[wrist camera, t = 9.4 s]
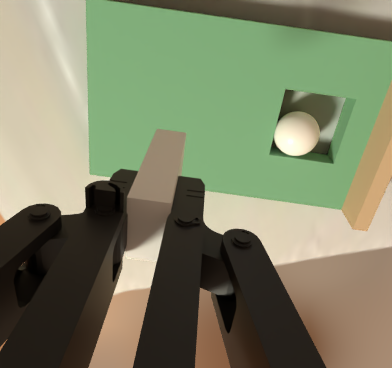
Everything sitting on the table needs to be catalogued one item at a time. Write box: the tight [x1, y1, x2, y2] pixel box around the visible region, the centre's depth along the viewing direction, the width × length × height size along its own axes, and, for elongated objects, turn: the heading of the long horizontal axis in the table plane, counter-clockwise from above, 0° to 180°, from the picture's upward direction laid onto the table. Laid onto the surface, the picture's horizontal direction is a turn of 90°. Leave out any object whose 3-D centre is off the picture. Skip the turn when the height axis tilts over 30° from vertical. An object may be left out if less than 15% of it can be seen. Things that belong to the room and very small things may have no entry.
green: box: [86, 0, 392, 231], centre depth 27 cm, size 24×14×5 cm, turn 83°
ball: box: [274, 111, 320, 156], centre depth 28 cm, size 4×4×4 cm
